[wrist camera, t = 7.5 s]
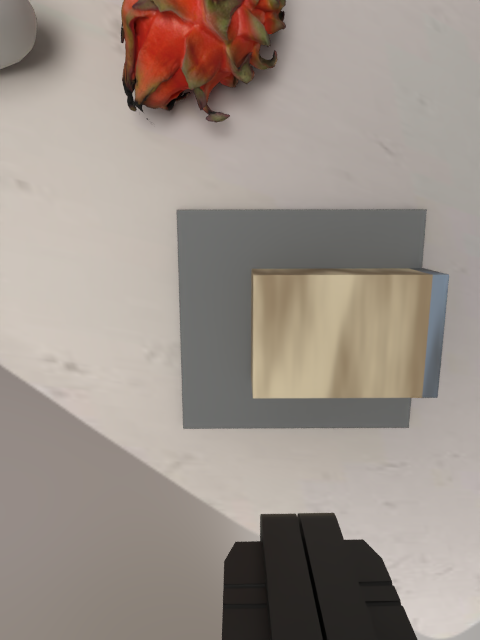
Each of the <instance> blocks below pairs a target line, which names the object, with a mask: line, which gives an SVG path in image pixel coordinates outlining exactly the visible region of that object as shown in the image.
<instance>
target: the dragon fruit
mask: <svg viewBox="0 0 480 640" xmlns="http://www.w3.org/2000/svg"><path fill="white" fill-rule="evenodd" d="M285 3H286V0H124V2H123V5H122V10H121V16H122V26H123V28H121V43H123V42H124V38H125V42H126V44H125V48H126V59H125V64H124V69H123V78H122V81H123V86H124V90H125V93H126V95H127V96H128V98H127V103H128V106H129V108H130V109H131V110H132V111H136V110H137V109H136V107H138V108H139V109H140V110H141V111H142V112H143V110H142V105H145V106H147V107H149V108H153V109H156V108H163V109H166V110H169V111H170V110H172V108H173V106H174V103H175V102H176V101H179V100H183V99H185V98H186V97H187V95H188V94H190V92H187V93H184V94H183V95H182V93H183V91H184V90H186V89H190V90H193V91H194V93H195V96H196V99H197V102H198V105H199V108H200V110H204V111H205V112H206V113H207V114H209V115H208V116H207V117H206V119H207V120H208V121H215V122H220V121H224V120H225V119H227V118H228V117H229V116H230V115H227V114H224V113H221V112H214V111H212V110H210V108H209V107H208V105H207V102H208V97H209V94H210V92H211V90H212V89H213V88H214V87H215V86H216V85H217V84H218V83H219V82H221V84H223V85H225V86H228V87H236V85H237V84H238V80H240V81H242V82H244V83H246V84H247V83H249V82H250V81H251V80H252V79H253V77H254V71H253V69H252V67H251V66H250V64H251V65H253V66H254V67H255V68H257V69H261V70H265V69H268V68H273V67H274V66H275V64H276V62H277V53H276V51H274V53H273V58H272V59H270V60H266V59H263V58H262V57H261V56H260V54H259V50H260V46H261V44H262V45H267V47H269V46H271V44H270V38H269V35H268V34H273V33H275V32H277V31H279V30H281V29H284V28H285V27H286V25H285V23H284V22H283V19H284V11H283V12H282V11H281V9H282V8H283V7H284V6H285V5H286V4H285ZM134 89H135V101H134V100H133V96H132V93H133V91H134ZM181 95H182V96H181ZM135 106H136V107H135ZM143 113H144V112H143ZM139 114H140V113H139ZM147 120H148V119H147ZM151 123H152V122H151ZM154 125H155V124H154Z"/></svg>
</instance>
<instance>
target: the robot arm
mask: <svg viewBox="0 0 480 640" xmlns="http://www.w3.org/2000/svg"><path fill="white" fill-rule="evenodd" d="M222 640H417V637H416V635H415V633H414V631H413V628H412V626H411V624H410V621H409V619H408V617H407V615H406V612H405V610H404V608H403V606H401V602H400V599H399V596H398V594H397V592H396V589H395V587H394V586H393V585H392V580H391V578H390V576H389V573H388V571H387V569H386V567H385V564H384V562H383V560H382V558H381V557H380V556H379V555H378V554H377V553H376V552H375V551H374V550H373V549H372V548H371V547H370V546H369V545H368V544H367V543H366V542H365V541H364V540H344V539H343V536H342V533H341V530H340V527H339V524H338V521H337V518H336V516H335V514H334V513H298V516H297V515H296V514H261V516H260V541H257V542H235V544H234V546H233V547H232V549H231V551H230V552H229V554H228V556H227V558H226V559H225V561H224V591H223V623H222Z"/></svg>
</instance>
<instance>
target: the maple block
mask: <svg viewBox="0 0 480 640" xmlns="http://www.w3.org/2000/svg"><path fill="white" fill-rule="evenodd" d="M448 281H449V275H448V274H444V273H440V272H436V271H432V270H428V269H424V268H356V269H251V383H252V394H253V398H437V397H438V387H439V376H440V366H441V355H442V345H443V334H444V324H445V313H446V302H447V292H448Z"/></svg>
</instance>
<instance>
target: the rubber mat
mask: <svg viewBox="0 0 480 640" xmlns="http://www.w3.org/2000/svg"><path fill="white" fill-rule="evenodd" d="M426 211H427V210H177V235H178V269H179V302H180V336H181V369H182V403H183V429H216V428H409V418H410V406H411V398H253V394H252V383H251V269H356V268H422V260H423V248H424V236H425V224H426Z"/></svg>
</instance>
